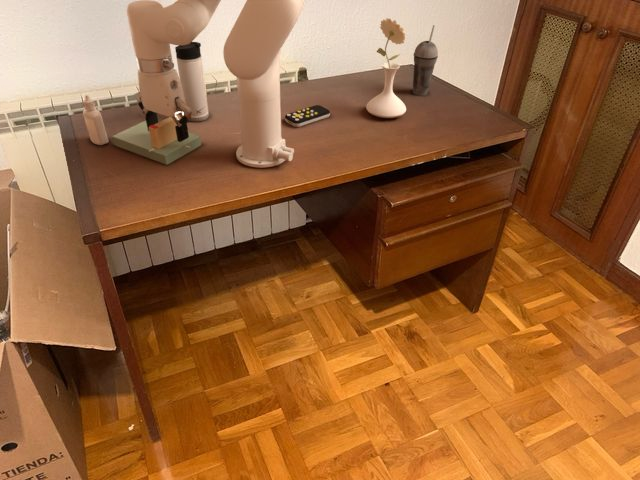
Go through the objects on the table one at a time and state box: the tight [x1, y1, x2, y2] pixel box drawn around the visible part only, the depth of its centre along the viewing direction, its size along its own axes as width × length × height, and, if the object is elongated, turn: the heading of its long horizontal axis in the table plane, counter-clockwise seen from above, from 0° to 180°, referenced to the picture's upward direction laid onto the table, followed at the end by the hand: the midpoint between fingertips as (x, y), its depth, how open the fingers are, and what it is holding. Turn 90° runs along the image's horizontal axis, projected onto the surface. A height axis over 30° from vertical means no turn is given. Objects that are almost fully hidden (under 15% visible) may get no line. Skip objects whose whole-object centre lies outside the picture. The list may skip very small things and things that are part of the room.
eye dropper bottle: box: [82, 94, 109, 146], centre depth 120 cm, size 4×6×12 cm
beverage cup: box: [412, 24, 439, 96], centre depth 147 cm, size 7×7×20 cm
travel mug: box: [174, 41, 210, 123], centre depth 130 cm, size 6×7×20 cm
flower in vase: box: [365, 17, 407, 119], centre depth 133 cm, size 13×11×25 cm
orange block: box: [149, 115, 181, 149], centre depth 117 cm, size 9×2×5 cm, turn 149°
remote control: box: [284, 104, 331, 128], centre depth 136 cm, size 6×13×2 cm, turn 130°
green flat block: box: [111, 120, 202, 166], centre depth 121 cm, size 20×13×3 cm, turn 59°
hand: (168, 134), depth 118 cm, fingers open, 9 cm apart
